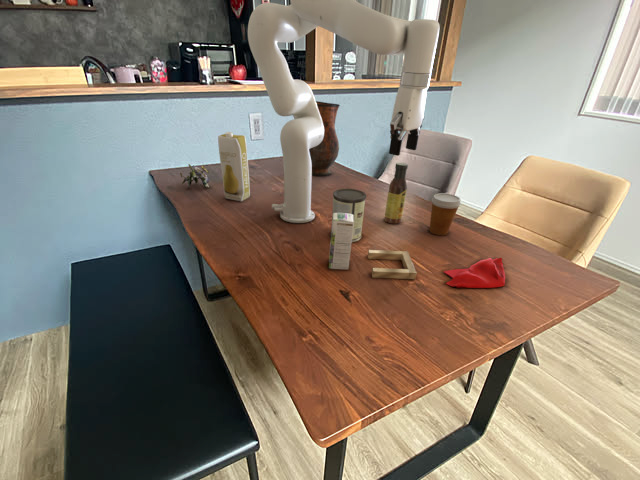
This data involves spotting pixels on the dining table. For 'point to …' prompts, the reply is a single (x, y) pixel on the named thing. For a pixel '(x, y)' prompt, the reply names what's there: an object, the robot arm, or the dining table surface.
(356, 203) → the coffee can
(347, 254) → the syrup box
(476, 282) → the cloth
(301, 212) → the robot arm
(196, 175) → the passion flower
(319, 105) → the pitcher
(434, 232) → the disposable coffee cup
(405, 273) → the stop frame
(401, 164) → the sauce bottle
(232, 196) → the juice carton
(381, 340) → the dining table surface
